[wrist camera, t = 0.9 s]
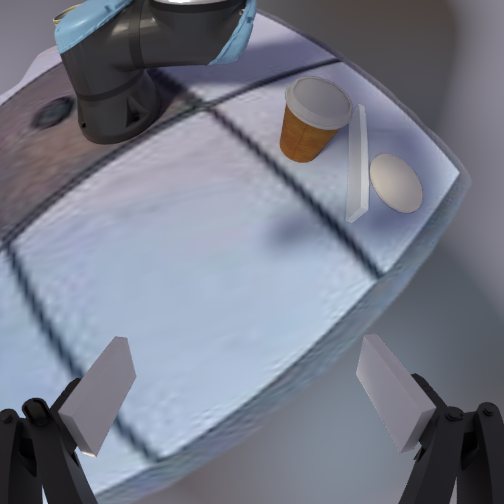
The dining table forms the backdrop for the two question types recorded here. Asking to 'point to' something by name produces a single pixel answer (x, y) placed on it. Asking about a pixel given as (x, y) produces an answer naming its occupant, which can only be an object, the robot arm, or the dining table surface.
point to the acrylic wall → (357, 166)
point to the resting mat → (396, 183)
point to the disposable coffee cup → (312, 116)
